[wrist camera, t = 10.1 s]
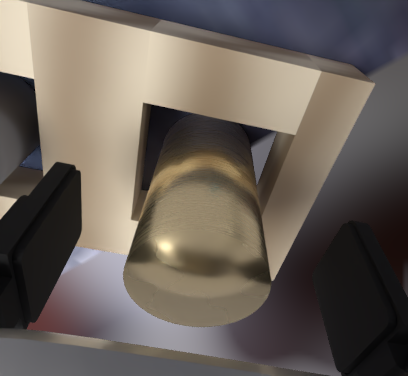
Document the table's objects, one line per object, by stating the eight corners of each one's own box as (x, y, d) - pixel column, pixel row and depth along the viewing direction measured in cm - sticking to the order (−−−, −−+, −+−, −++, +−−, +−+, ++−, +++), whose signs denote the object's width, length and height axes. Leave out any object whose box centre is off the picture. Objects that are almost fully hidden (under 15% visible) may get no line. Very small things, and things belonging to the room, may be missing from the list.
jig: (351, 64, 13) (409, 111, 9) (267, 247, 20) (280, 322, 16) (-165, -59, 12) (-370, -68, 8) (-77, 184, 18) (-164, 249, 14)
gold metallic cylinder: (262, 122, 15) (293, 247, 9) (237, 196, 18) (247, 335, 11) (169, 102, 15) (128, 217, 8) (157, 180, 17) (119, 315, 11)
